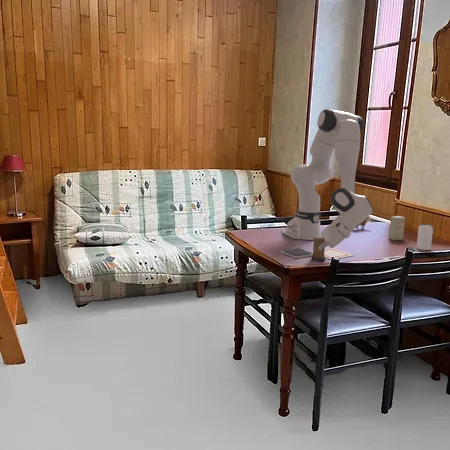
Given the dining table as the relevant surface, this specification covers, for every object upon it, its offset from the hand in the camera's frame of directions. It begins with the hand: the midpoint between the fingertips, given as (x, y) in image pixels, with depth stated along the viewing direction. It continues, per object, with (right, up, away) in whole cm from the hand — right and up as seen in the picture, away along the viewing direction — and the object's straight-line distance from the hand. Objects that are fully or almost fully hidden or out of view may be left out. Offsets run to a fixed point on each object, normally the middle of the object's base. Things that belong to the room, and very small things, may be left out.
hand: (317, 247), depth 209 cm
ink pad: (-8, -4, +9) cm, 12 cm away
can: (+57, -2, +23) cm, 62 cm away
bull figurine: (+37, +7, +63) cm, 73 cm away
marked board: (+9, -4, +11) cm, 14 cm away
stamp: (+1, -6, +1) cm, 6 cm away
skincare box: (+50, +2, +42) cm, 66 cm away
